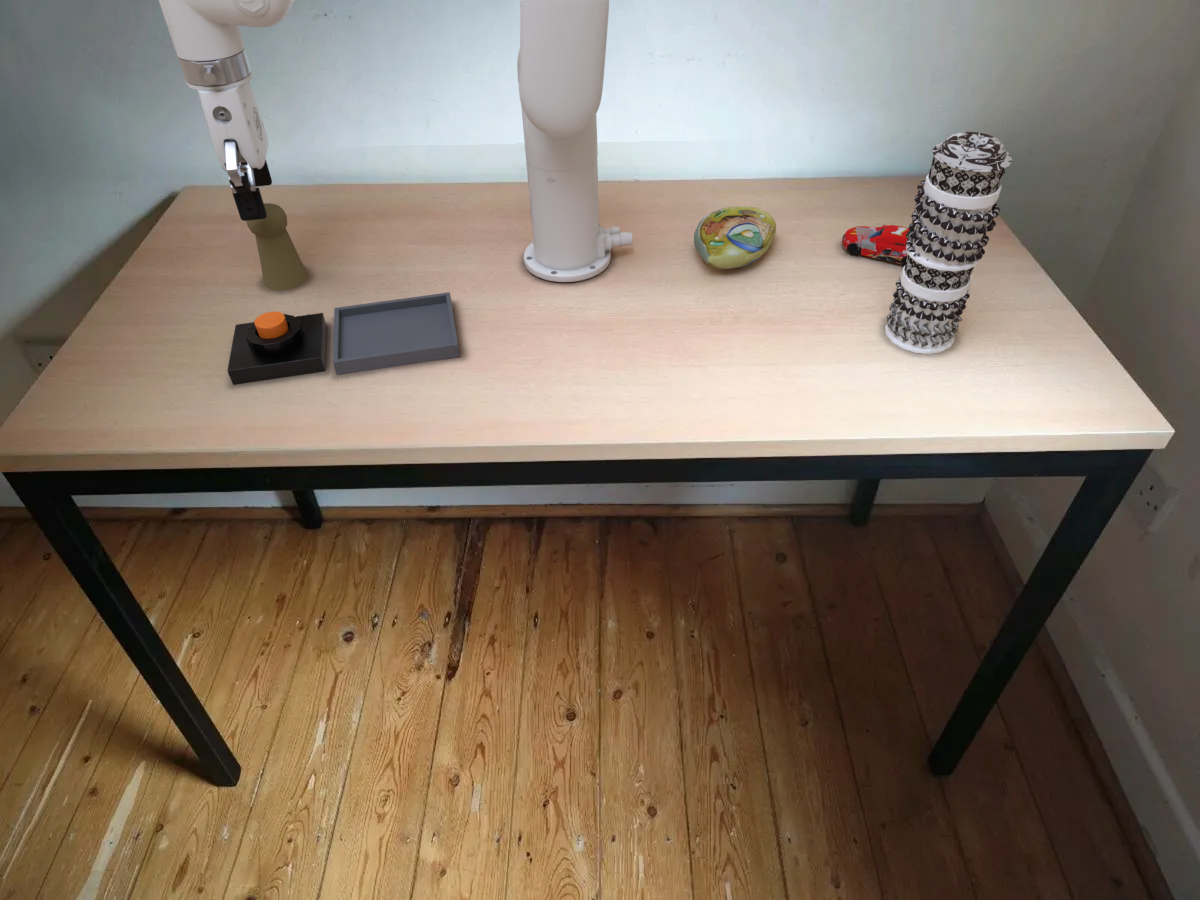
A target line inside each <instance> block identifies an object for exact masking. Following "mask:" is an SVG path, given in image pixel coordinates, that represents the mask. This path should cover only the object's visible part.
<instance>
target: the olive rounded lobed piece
mask: <svg viewBox="0 0 1200 900" xmlns="http://www.w3.org/2000/svg"><path fill="white" fill-rule="evenodd" d="M264 206H265V210H266V213H267V217H266V218H265V219H258V220H248V221H245V222H246V226H247V227H248V229H249V231H250V232H251V233H252V234H253V235H254V236H255V242H256V246H257V247H256V248H257V252H258V253H257V254H258V258H259V263H260V269H261V275H262V279H263V284H264V286H265V288H266V289H269V290H271V291H276V292H281V291H282V292H283V291H290V290H292V289H295V288H297V287H299V286H301V285H303V284H304V283H305V282H306V281H307V279H308V277H309V276H308V273H307V271H306V268H305V266H304V264H303V262H302V259H301V258H300V255H299V253H298V251H297V248H296V247H295V245H294V242H293V240H292V238H291V236H290V234H289V232H288V229H287V227H288V217H287V213H286V212H285V210H284V209H283V208H282V207H281V206H280V205H278V204H276V203H271V202H269V203H268V202H267V203H265V202H264Z"/></svg>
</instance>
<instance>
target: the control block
mask: <svg viewBox="0 0 1200 900" xmlns="http://www.w3.org/2000/svg"><path fill="white" fill-rule="evenodd" d="M282 314H283V315H284V316H285V319H286V322H287V325H288V328H289V329H288V331H287V332H286V333H285V334H283V335H281V336H279V337H277V338H270V339H265V338H261V337H260V336H259V334H258V332H257V329H256V326H255V320H254V321H252V322H245V323H238V324H235V325H234V331H233V337H232V344H231V349H230V355H229V360H228V365H227V371H226V372H227V374H228V376H229V379H230V381H231V383H232V385H233V386H235V385H241V384H249V383H255V382H263V381H269V380H276V379H283V378H290V377H297V376H305V375H309V374H317V373H325V372H326V363H327V362H326V359H327V335H328V332H327V331H328V325H327V322H326V318H325V315H324V313H323V312H319V313H312V314H304V315H296V316H295V315H294V314H293V315H292V314H287V313H282Z"/></svg>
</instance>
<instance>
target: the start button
mask: <svg viewBox="0 0 1200 900" xmlns="http://www.w3.org/2000/svg"><path fill="white" fill-rule="evenodd" d="M283 314H284V313H282V312H280V311H268V312H267V311H266V312H264V313H262V314H259V316H257V317H256V318H255V319H254V321H255V326H256V329H257V332H258V334H259V336H260V337H261V338H265V339H270V338H277V337H279V336H281V335H283V334H285V333H286V332H287V331H288V329H289V328H288V325H287V322H286V319H285V316H284V315H283Z"/></svg>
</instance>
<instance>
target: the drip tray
mask: <svg viewBox="0 0 1200 900" xmlns="http://www.w3.org/2000/svg"><path fill="white" fill-rule="evenodd" d="M333 310H334V311H333V313H334V314H333V346H332V347H333V349H332V364H333V368H334V370H335V374H336V376H340V375H347V374H353V373H355V374H356V373H360V372H368V371H374V370H382V369H388V368H394V367H401V366H409V365H415V364H423V363H429V362H435V361H442V360H448V359H449V360H450V359H456V358H457V359H458V358H461V353H460V347H459V346H460V345H459V340H458V334H457V333H458V332H457V327H456V322H455V315H454V314H455V313H454V308H453V302H452V297H451V292H450V291H449V292H448V291H447V292H442V293H433V294H426V295H419V296H412V297H404V298H397V299H396V298H395V299H390V300H382V301H375V302H374V301H373V302H368V303H360V304H354V305H346V306H337V307H334V309H333Z"/></svg>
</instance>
